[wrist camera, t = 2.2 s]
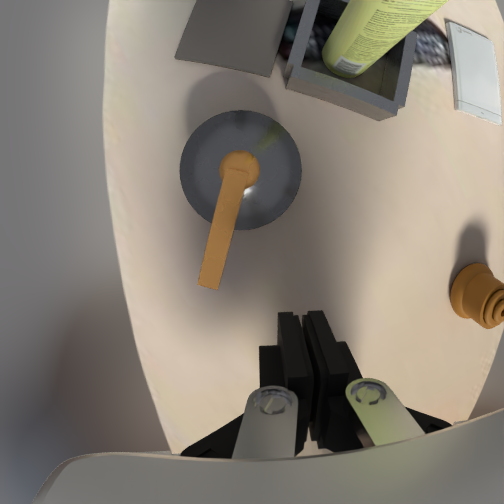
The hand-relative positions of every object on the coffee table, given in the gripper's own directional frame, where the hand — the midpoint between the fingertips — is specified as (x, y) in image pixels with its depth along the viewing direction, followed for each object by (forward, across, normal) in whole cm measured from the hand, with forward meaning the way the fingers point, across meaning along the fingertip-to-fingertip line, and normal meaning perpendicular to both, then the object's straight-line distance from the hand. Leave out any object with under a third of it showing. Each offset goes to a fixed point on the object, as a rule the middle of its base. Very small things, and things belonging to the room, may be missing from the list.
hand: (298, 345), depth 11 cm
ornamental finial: (+21, -26, +8) cm, 35 cm away
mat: (+21, +3, -22) cm, 31 cm away
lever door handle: (+20, +3, -4) cm, 21 cm away
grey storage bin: (+21, -8, -19) cm, 29 cm away
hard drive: (+22, -27, -20) cm, 40 cm away
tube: (+21, -8, -19) cm, 29 cm away
